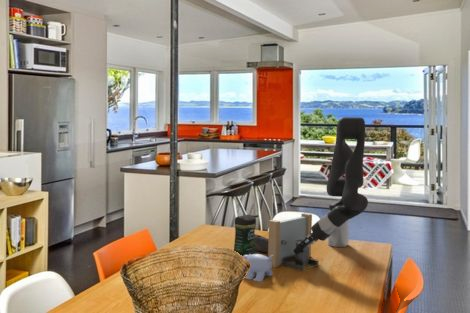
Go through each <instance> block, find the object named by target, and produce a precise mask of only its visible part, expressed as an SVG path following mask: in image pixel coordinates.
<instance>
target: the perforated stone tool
mask: <svg viewBox="0 0 470 313" xmlns="http://www.w3.org/2000/svg"><path fill="white" fill-rule="evenodd" d="M268 243H269V238H267V237H265V236H262V235H259V234H256V233H255V251H258V252H261V253H266V254H268Z"/></svg>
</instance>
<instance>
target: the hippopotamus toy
mask: <svg viewBox="0 0 470 313" xmlns="http://www.w3.org/2000/svg"><path fill="white" fill-rule="evenodd" d="M272 256H274V255H271V256H270V257H269V258H268V255H267V256H266V255H265V254H261V253H255V254H252V255H251V254H249V255H244V256H243V257H244V258H245V259H246V260H248V261H249V263H250V265H251V266H250V270H249V271H248V270H247V273H246V275H245V276H246V277H245V276H244V277H245V278H244V279H247V280H252V281H255V282H263V281H264V278H265V276H266V277H271V276H274V274H273V271H272V267H273V266H272V263H271V258H272Z"/></svg>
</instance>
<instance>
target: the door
mask: <svg viewBox="0 0 470 313" xmlns="http://www.w3.org/2000/svg"><path fill="white" fill-rule="evenodd" d="M312 226H313V214H311V213H306V212H304V213H301V216H297V217H294V218H290V219H283V220H276V219H269V220H268V239H269V243H268V253H267V257H268V258H269V257H270V256H271V255H274V256H272V258H271V263H272V267H273V268H277V267H280V266H281V265H283V258H285V257H288V256H291V255H295V253H294V251H293V250H294V249H295V248H296V243H295V241H297V240H301V239H305V238H306V237H307V236H308V235H309V234H310V233H312ZM311 255H312V244H311V245H310V246H309V258H310V257H311Z"/></svg>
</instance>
